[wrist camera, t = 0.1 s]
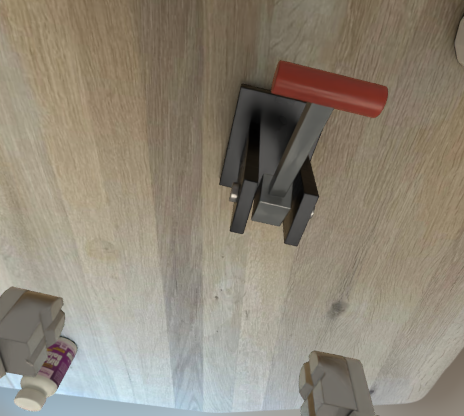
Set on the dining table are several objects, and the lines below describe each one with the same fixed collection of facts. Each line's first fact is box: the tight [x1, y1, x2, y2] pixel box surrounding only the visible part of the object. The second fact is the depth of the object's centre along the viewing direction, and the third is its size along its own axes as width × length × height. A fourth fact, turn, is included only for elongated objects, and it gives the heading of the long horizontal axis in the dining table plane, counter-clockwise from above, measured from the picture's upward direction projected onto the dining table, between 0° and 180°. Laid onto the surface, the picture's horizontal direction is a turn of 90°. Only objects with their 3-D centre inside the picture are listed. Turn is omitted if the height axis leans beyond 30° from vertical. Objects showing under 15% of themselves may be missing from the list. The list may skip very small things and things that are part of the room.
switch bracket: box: [219, 84, 323, 246], centre depth 27 cm, size 10×8×12 cm
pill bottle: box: [14, 337, 77, 411], centre depth 51 cm, size 5×5×10 cm
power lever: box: [251, 60, 388, 226], centre depth 19 cm, size 12×5×2 cm, turn 168°
